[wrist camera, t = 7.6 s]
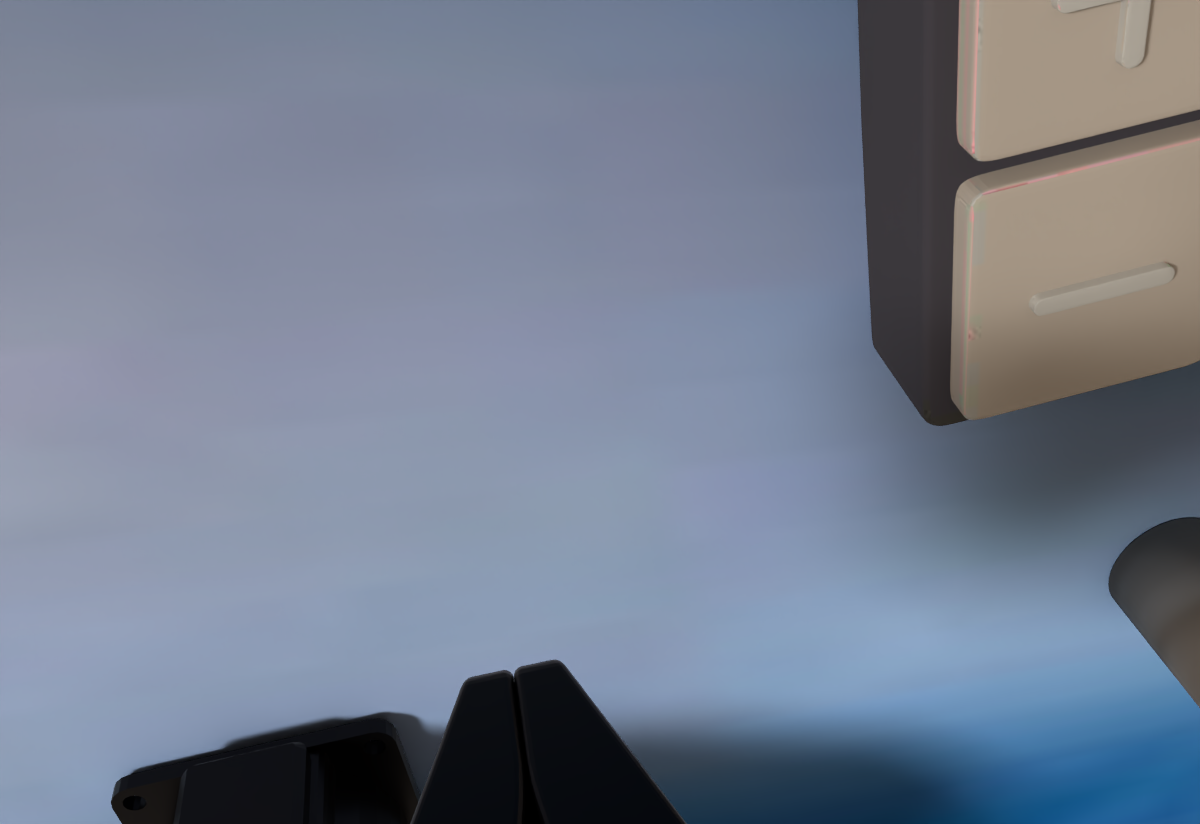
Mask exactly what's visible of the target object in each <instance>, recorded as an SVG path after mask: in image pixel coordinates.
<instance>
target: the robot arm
mask: <svg viewBox="0 0 1200 824" xmlns="http://www.w3.org/2000/svg"><path fill="white" fill-rule="evenodd" d="M371 740H378V741H371ZM111 805H112V808H113V810H114V812H115V813H116V815H117V816H118V818H119V820H120V821H121V823H122V824H687V823H686V822H685V821H684V820H683V818H682V817H681V816H680V814H679V813H678V812H677V810H676V809H675V808H674V806H673V805H672V804H671V803H670V801H669V800H668V799H667V797H666V796H665V795H664V793H663V792H662V791H661V790H660V788H659V787H658V786H657V784H656V783H655V782H654V780H653V779H652V778H651V777H650V775H649V774H648V773H647V771H646V770H645V769H644V767H643V766H642V765H641V764H640V762H639V761H638V760H637V758H636V757H635V756H634V754H633V753H632V752H631V751H630V749H629V748H628V747H627V745H626V744H625V743H624V741H623V740H622V739H621V738H620V736H619V735H618V734H617V732H616V731H615V730H614V728H613V727H612V726H611V725H610V723H609V722H608V721H607V719H606V718H605V717H604V715H603V714H602V713H601V711H600V710H599V709H598V708H597V706H596V705H595V704H594V702H593V701H592V700H591V698H590V697H589V696H588V695H587V693H586V692H585V691H584V689H583V688H582V687H581V685H580V684H579V683H578V682H577V680H576V679H575V678H574V676H573V675H572V674H571V672H570V671H569V670H568V669H567V667H566V666H565V665H564V664H563V663H562V662H560V661H558V660H550V661H545V662H540V663H535V664H531V665H526V666H521V667H519V668H518V669H517V670H516V671H515V673H514V677H513V675H512V674H511V672H509V671H507V670H502V671H498V672H493V673H488V674H483V675H479V676H474V677H470V678H468V679H467V680H466V681H465V682H464V683H463V685H462V687H461V689H460V692H459V695H458V697H457V700H456V703H455V705H454V708H453V711H452V713H451V716H450V719H449V722H448V724H447V727H446V730H445V732H444V735H443V738H442V740H441V743H440V746H439V748H438V751H437V754H436V756H435V759H434V762H433V764H432V767H431V770H430V773H429V775H428V778H427V781H426V783H425V786H424V789H423V791H422V794H421V797H420V794H419V791H418V788H417V786H416V783H415V780H414V778H413V775H412V772H411V769H410V767H409V764H408V761H407V758H406V756H405V753H404V750H403V747H402V745H401V742H400V739H399V736H398V734H397V731H396V728H395V727H394V726H393V724H392V723H390V722H388V721H386V720H382V719H370V720H365V721H361V722H356V723H352V724H348V725H343V726H339V727H335V728H330V729H326V730H322V731H317V732H313V733H309V734H304V735H300V736H296V737H291V738H287V739H283V740H278V741H274V742H270V743H265V744H261V745H257V746H252V747H248V748H244V749H239V750H235V751H231V752H226V753H222V754H218V755H213V756H209V757H205V758H200V759H196V760H192V761H187V762H183V763H179V764H174V765H170V766H166V767H161V768H157V769H153V770H148V771H144V772H140V773H135V774H131V775H128V776H125V777H123V778H121V779H120V780H119V781H117V782H116V784H115V787H114V791H113V795H112V800H111Z"/></svg>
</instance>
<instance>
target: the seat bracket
mask: <svg viewBox="0 0 1200 824" xmlns="http://www.w3.org/2000/svg"><path fill="white" fill-rule="evenodd" d="M1109 591H1110V594H1111V596H1112V598H1113V599H1114V600H1115V602H1116V603H1117V604H1118V605H1119V607H1120V608H1121V609H1122V611H1123V612H1124V613H1125V614H1126V616H1127V617H1128V618H1129V619H1130V621H1131V622H1132V623H1133V624H1134V626H1135V627H1136V628H1137V629H1138V631H1139V632H1140V633H1141V634H1142V636H1143V637H1144V638H1145V639H1146V641H1147V642H1148V643H1149V645H1150V646H1151V647H1152V648H1153V650H1154V651H1155V652H1156V653H1157V655H1158V656H1159V657H1160V658H1161V660H1162V661H1163V662H1164V663H1165V665H1166V666H1167V667H1168V668H1169V670H1170V671H1171V672H1172V673H1173V675H1174V676H1175V677H1176V679H1177V680H1178V681H1179V682H1180V684H1181V685H1182V686H1183V687H1184V689H1185V690H1186V691H1187V692H1188V694H1189V695H1190V696H1191V697H1192V699H1193V700H1194V701H1195V702H1196V704H1197V705H1198V706H1199V708H1200V519H1198V518H1183V519H1177V520H1173V521H1169V522H1166V523H1163V524H1161V525H1158V526H1156V527H1154V528H1152V529H1150V530H1149V531H1147V532H1145V533H1144V534H1142V535H1141V536H1139V537H1138V538H1137V539H1135V540H1134V541H1133V542H1132V543H1131V544H1130V545H1129V546H1128V547H1127V548H1126V549H1125V550H1124V551H1123V552H1122V553H1121V554H1120V556H1119V557H1118V559H1117V560H1116V562H1115V564H1114V565H1113V568H1112V570H1111V573H1110V577H1109Z"/></svg>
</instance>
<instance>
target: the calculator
mask: <svg viewBox="0 0 1200 824" xmlns="http://www.w3.org/2000/svg"><path fill="white" fill-rule="evenodd" d="M858 24H859V56H860V88H861V119H862V142H863V163H864V184H865V205H866V226H867V247H868V267H869V287H870V307H871V326H872V340H873V345H874V347H875V349H876V351H877V352H878V354H879V355H880V357H881V358H882V360H883V361H884V362H885V364H886V365H887V367H888V368H889V370H890V371H891V373H892V374H893V376H894V377H895V378H896V380H897V381H898V383H899V384H900V386H901V387H902V389H903V390H904V391H905V393H906V394H907V396H908V397H909V399H910V400H911V402H912V403H913V404H914V406H915V407H916V409H917V410H918V412H919V413H920V414H921V416H922V417H923V418H924V419H925V421H926V422H928V423H929V424H932V425H936V426H943V425H949V424H954V423H957V422H961V421H965V420H976V419H983V418H988V417H992V416H996V415H999V414H1003V413H1007V412H1011V411H1015V410H1019V409H1023V408H1026V407H1030V406H1034V405H1038V404H1042V403H1046V402H1050V401H1053V400H1057V399H1061V398H1065V397H1069V396H1073V395H1077V394H1080V393H1084V392H1088V391H1092V390H1096V389H1100V388H1104V387H1107V386H1111V385H1115V384H1119V383H1123V382H1127V381H1131V380H1134V379H1138V378H1142V377H1146V376H1150V375H1154V374H1158V373H1161V372H1165V371H1169V370H1173V369H1177V368H1181V367H1185V366H1187V365H1190V364H1193V363H1195V362H1197V361H1199V360H1200V0H858Z"/></svg>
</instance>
